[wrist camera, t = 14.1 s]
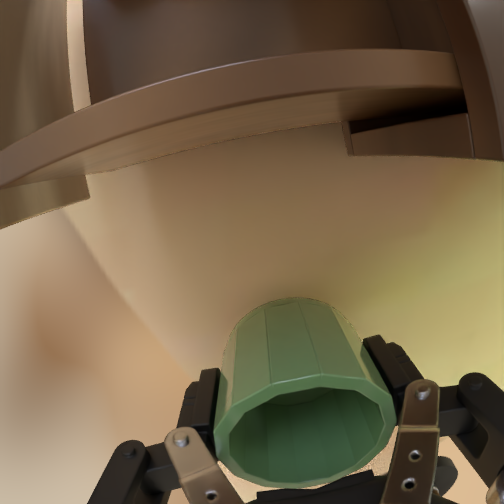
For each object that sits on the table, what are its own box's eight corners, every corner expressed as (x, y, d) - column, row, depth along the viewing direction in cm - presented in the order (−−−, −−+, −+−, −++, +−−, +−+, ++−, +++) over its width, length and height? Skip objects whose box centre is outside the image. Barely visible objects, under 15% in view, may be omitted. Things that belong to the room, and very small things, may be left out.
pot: (358, 388, 15) (390, 466, 10) (240, 412, 15) (237, 496, 10) (351, 283, 13) (403, 351, 8) (208, 312, 14) (186, 395, 8)
